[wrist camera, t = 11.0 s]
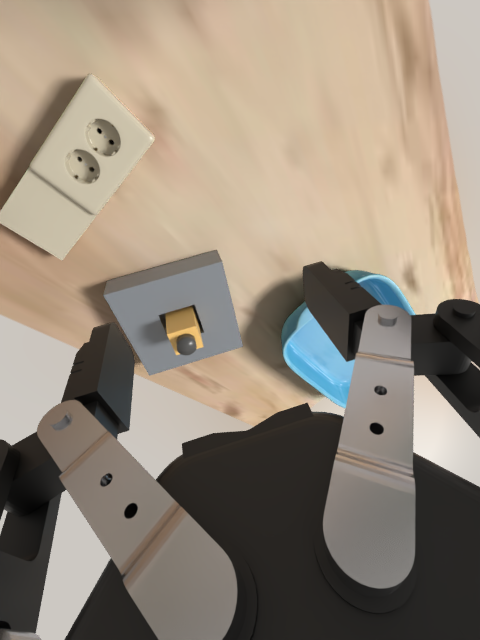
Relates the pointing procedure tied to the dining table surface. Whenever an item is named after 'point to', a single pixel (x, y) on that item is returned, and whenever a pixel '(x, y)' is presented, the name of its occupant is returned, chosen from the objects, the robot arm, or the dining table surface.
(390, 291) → the casserole dish
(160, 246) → the dining table surface
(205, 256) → the socket
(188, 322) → the plug
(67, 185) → the electrical outlet
